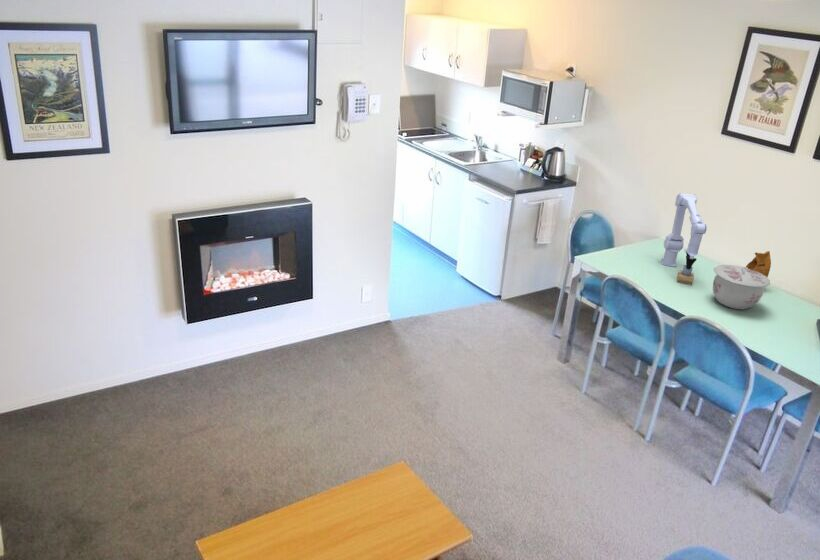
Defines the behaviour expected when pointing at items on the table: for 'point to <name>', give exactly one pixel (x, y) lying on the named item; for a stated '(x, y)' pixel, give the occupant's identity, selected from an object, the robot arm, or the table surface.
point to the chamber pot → (738, 286)
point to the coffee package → (761, 263)
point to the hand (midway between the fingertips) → (688, 266)
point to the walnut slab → (684, 281)
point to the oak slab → (685, 277)
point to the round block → (686, 271)
